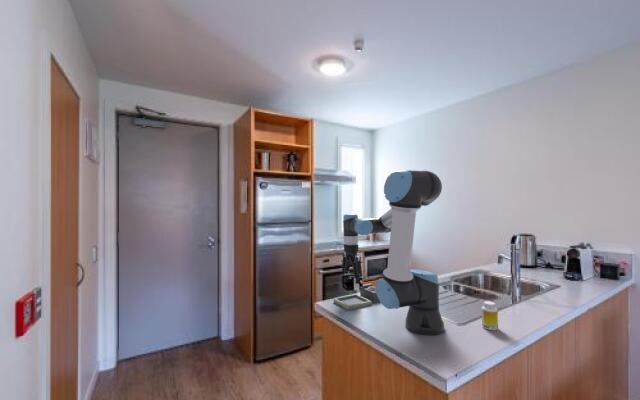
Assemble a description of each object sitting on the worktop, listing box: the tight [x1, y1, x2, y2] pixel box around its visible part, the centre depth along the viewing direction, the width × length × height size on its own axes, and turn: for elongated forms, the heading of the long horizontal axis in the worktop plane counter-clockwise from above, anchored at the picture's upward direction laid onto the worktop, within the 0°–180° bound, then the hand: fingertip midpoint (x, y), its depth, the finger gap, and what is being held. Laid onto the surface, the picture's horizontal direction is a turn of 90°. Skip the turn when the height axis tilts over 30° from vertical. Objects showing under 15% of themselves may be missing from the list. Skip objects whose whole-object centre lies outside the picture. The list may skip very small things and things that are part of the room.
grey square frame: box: [333, 293, 373, 312], centre depth 148 cm, size 14×14×2 cm
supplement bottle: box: [481, 300, 499, 331], centre depth 117 cm, size 6×6×10 cm
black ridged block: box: [340, 274, 364, 292], centre depth 149 cm, size 10×7×7 cm
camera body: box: [359, 282, 380, 303], centre depth 156 cm, size 12×7×6 cm, turn 28°
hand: (351, 287), depth 149 cm, fingers closed on black ridged block, 8 cm apart
